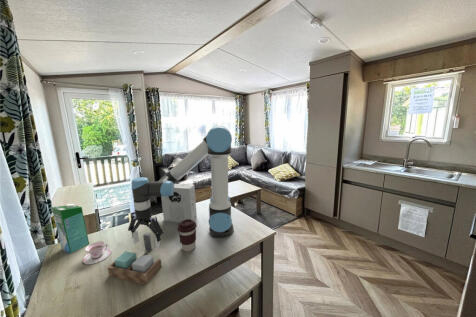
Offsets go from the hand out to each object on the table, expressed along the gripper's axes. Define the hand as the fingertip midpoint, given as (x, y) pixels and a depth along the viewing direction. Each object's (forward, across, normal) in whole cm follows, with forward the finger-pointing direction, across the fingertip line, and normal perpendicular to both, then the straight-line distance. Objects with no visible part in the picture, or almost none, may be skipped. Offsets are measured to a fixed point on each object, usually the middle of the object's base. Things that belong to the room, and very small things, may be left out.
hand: (147, 244), depth 101 cm
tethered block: (+3, 0, +8) cm, 8 cm away
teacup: (+4, +22, +10) cm, 25 cm away
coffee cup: (+3, -21, -7) cm, 22 cm away
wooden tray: (+3, -5, +13) cm, 15 cm away
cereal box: (+4, 0, -32) cm, 33 cm away
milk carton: (+4, +42, +7) cm, 43 cm away
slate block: (+3, -10, +14) cm, 17 cm away
